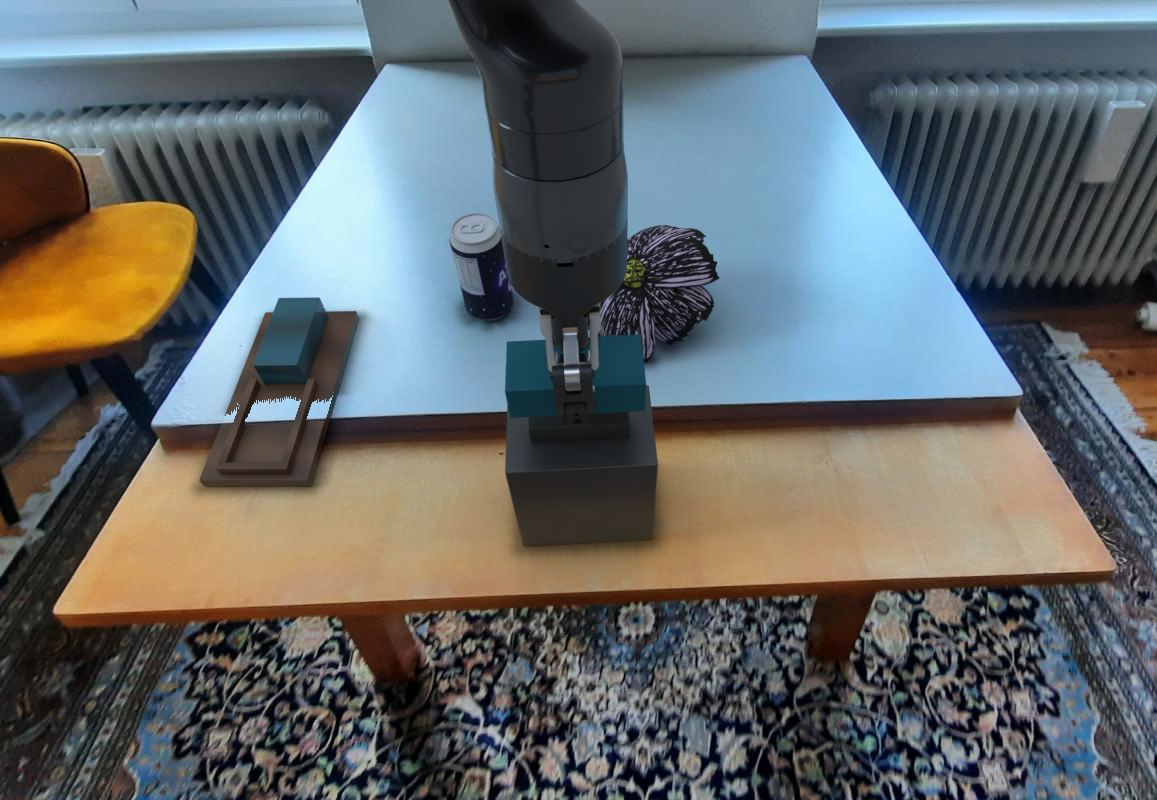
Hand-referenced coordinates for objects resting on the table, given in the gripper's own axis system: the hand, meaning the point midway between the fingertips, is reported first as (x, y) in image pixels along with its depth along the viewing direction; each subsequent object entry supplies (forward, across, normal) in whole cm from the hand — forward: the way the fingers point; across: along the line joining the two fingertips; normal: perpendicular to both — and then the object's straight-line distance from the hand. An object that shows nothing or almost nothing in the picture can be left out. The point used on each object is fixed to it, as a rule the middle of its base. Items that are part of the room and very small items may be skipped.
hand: (576, 392), depth 56 cm
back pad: (0, 0, 0) cm, 0 cm away
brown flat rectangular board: (+18, -16, -32) cm, 40 cm away
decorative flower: (+18, -24, +8) cm, 31 cm away
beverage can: (+18, -27, -10) cm, 34 cm away
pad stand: (+18, 0, 0) cm, 18 cm away
